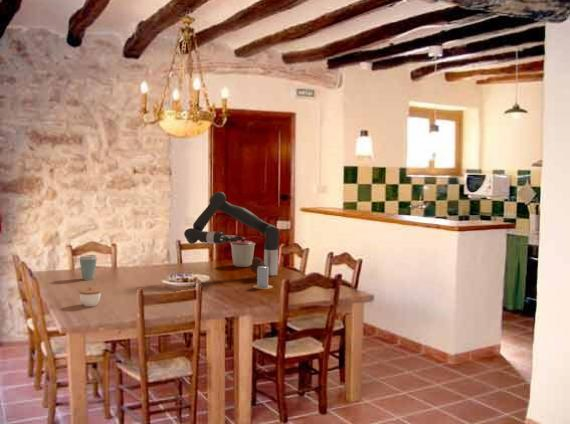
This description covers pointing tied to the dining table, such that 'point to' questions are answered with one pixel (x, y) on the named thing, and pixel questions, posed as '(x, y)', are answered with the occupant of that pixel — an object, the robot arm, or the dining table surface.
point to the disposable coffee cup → (88, 266)
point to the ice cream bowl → (256, 264)
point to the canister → (242, 252)
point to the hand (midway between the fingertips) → (239, 239)
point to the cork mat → (263, 288)
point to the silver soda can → (262, 276)
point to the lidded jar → (90, 296)
